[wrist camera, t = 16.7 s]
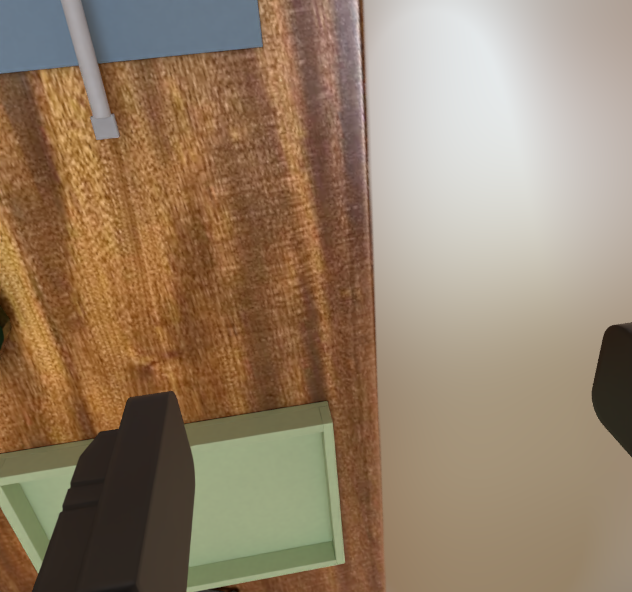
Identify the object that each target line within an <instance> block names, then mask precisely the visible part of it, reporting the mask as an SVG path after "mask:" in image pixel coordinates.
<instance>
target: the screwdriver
mask: <svg viewBox="0 0 632 592" xmlns="http://www.w3.org/2000/svg"><path fill="white" fill-rule="evenodd" d="M61 3H62V7H63V10H64V14H65V18H66V21H67V25H68V28H69V32H70V35H71V39H72V43H73V46H74V50H75V53H76V57H77V60H78V64H79V67H80V71H81V75H82V78H83V82H84V85H85V89H86V92H87V96H88V99H89V103H90V107H91V110H92V114H93V116H91V117H90V118H91V122H92V125H93V129H94V132H95V136H96V139H97V140H101V139H110V138H119V137H120V134H119V130H118V126H117V122H116V119H115V115H114V114H111V112H110V108H109V104H108V101H107V97H106V93H105V89H104V85H103V82H102V78H101V74H100V70H99V66H98V63H97V59H96V55H95V51H94V48H93V44H92V40H91V36H90V32H89V29H88V25H87V21H86V17H85V13H84V10H83V6H82V2H81V0H61Z"/></svg>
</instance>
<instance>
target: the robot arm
mask: <svg viewBox="0 0 632 592" xmlns="http://www.w3.org/2000/svg"><path fill="white" fill-rule="evenodd" d="M592 402H593V406H594V410H595V412H596V415H597V417H598V418H599V420H600V421H601V423H602V424H603V425H604V426H605V428H606V429H607V430H608V431H609V432H610V433H611V434H612V435H613V437H614V438H615V439H616V440H617V441H618V442H619V443H620V445H622V447H623V448H624V449H625V450H626V451H627V452H628V454H629V455H630V456H631V457H632V322H631V323H625V324H618V325H612V326H610V327H609V328H608V329H607V330H606V331H605V333H604V336H603V340H602V345H601V350H600V355H599V359H598V364H597V369H596V373H595V378H594V383H593V388H592ZM70 485H71V487H70V489H68V491H67V494H66V496H65V499H64V502H63V505H62V508H63V510H62V512H60V513H59V516H58V519H57V522H56V525H55V528H54V531H53V533H52V536H51V539H50V542H49V545H48V548H47V550H46V553H45V556H44V559H43V562H42V565H41V568H40V570H39V573H38V576H37V579H36V582H35V585H34V588H33V590H32V592H186V591H187V579H188V568H189V556H190V544H191V532H192V521H193V509H194V497H195V469H194V461H193V456H192V452H191V448H190V444H189V441H188V437H187V433H186V430H185V426H184V423H183V419H182V415H181V412H180V408H179V404H178V401H177V398H176V395H175V393H174V392H173V391H168V392H162V393H155V394H148V395H142V396H135V397H130V398H129V399H128V400H127V402H126V405H125V409H124V413H123V416H122V420H121V423H120V427H119V429H115V430H109V431H102V432H99V434H98V435H97V436H96V437H95V438H94V440H93V441H92V442H91V443H90V444H89V446H88V447H87V448H86V449H85V450H84V452H83V453H82V454H81V455H80V456H79V459H78V462H77V465H76V468H75V471H74V474H73V476H72V479H71V482H70Z"/></svg>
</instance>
